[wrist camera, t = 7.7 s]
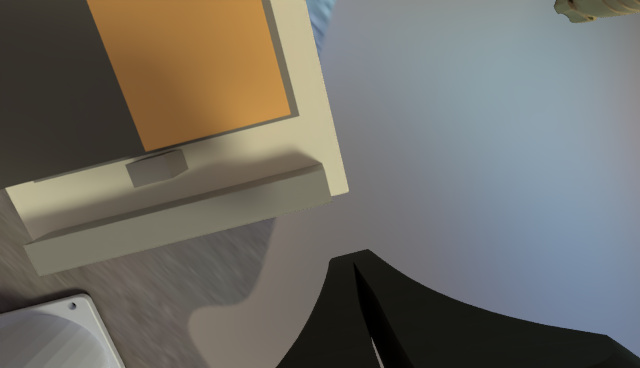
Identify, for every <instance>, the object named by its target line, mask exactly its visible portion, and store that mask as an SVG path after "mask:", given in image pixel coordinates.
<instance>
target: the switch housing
mask: <svg viewBox="0 0 640 368" xmlns="http://www.w3.org/2000/svg"><path fill="white" fill-rule="evenodd" d="M261 1H262V5H263V9H264V13H265V17H266V21H267V24H268V28H269V32H270V36H271V40H272V44H273V47H274V51H275V55H276V59H277V63H278V66H279V70H280V74H281V78H282V82H283V86H284V89H285V93H286V97H287V101H288V105H289V108H290V112H291V114H290V115H286V116H282V117H279V118H275V119H271V120H267V121H263V122H259V123H255V124H251V125H248V126H244V127H240V128H236V129H232V130H228V131H224V132H220V133H217V134H213V135H209V136H205V137H201V138H197V139H193V140H189V141H186V142H182V143H178V144H174V145H170V146H166V147H162V148H158V149H155V150H151V151H147V152H143V153H139V154H135V155H131V156H127V157H124V158H120V159H116V160H112V161H108V162H104V163H100V164H96V165H93V166H89V167H85V168H81V169H77V170H73V171H69V172H65V173H62V174H58V175H54V176H50V177H46V178H42V179H38V180H34V181H31V182H27V183H23V184H19V185H15V186H11V187H7V188H5V189H6V190H7V192H8V194H9V196H10V198H11V200H12V202H13V204H14V206H15V208H16V210H17V211H18V213H19V215H20V217H21V219H22V221H23V223H24V225H25V227H26V229H27V231H28V233H29V234H30V236H31V238H32V240H33V241H31V242H29V243H27V244H25V245H23V247H24V249H25V251H26V253H27V255H28V256H29V258H30V260H31V262H32V264H33V266H34V268H35V270H36V271H37V273H38V275H39V276H43V275H47V274H51V273H55V272H59V271H63V270H67V269H71V268H75V267H79V266H83V265H87V264H91V263H95V262H99V261H103V260H107V259H110V258H114V257H118V256H122V255H126V254H130V253H134V252H138V251H142V250H146V249H150V248H154V247H158V246H162V245H166V244H170V243H174V242H178V241H182V240H186V239H189V238H193V237H197V236H201V235H205V234H209V233H213V232H217V231H221V230H225V229H229V228H233V227H237V226H241V225H245V224H249V223H253V222H257V221H261V220H264V219H268V218H272V217H276V216H280V215H284V214H288V213H292V212H296V211H300V210H304V209H308V208H312V207H316V206H320V205H324V204H328V203H332V198H331V196H334V195H338V194H342V193H346V192H349V189H348V185H347V181H346V176H345V172H344V167H343V163H342V159H341V154H340V150H339V145H338V141H337V137H336V132H335V128H334V124H333V119H332V115H331V111H330V106H329V102H328V97H327V93H326V89H325V85H324V80H323V76H322V71H321V67H320V63H319V58H318V54H317V49H316V45H315V41H314V36H313V32H312V28H311V23H310V19H309V15H308V10H307V6H306V1H305V0H261Z"/></svg>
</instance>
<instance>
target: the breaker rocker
mask: <svg viewBox="0 0 640 368" xmlns="http://www.w3.org/2000/svg"><path fill="white" fill-rule="evenodd" d="M290 114H291V112H290V108H289V105H288V101H287V97H286V93H285V89H284V86H283V82H282V78H281V74H280V70H279V66H278V63H277V59H276V55H275V51H274V47H273V44H272V40H271V36H270V32H269V28H268V24H267V21H266V17H265V13H264V9H263V5H262V1H261V0H0V189H3V188H7V187H11V186H15V185H19V184H23V183H27V182H31V181H34V180H38V179H42V178H46V177H50V176H54V175H58V174H62V173H65V172H69V171H73V170H77V169H81V168H85V167H89V166H93V165H96V164H100V163H104V162H108V161H112V160H116V159H120V158H124V157H127V156H131V155H135V154H139V153H143V152H147V151H151V150H155V149H158V148H162V147H166V146H170V145H174V144H178V143H182V142H186V141H189V140H193V139H197V138H201V137H205V136H209V135H213V134H217V133H220V132H224V131H228V130H232V129H236V128H240V127H244V126H248V125H251V124H255V123H259V122H263V121H267V120H271V119H275V118H279V117H282V116H286V115H290Z"/></svg>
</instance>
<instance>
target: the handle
mask: <svg viewBox="0 0 640 368" xmlns="http://www.w3.org/2000/svg"><path fill="white" fill-rule="evenodd" d="M554 8H555V10H556V12H557V13H558V14H560V13H562V14H564V15H566V16H567V17H568V18H569V19H570V21H571V22H572V23H582V22H590V21H594V20H596V19H597V17H612V16H620V15H626V14H633V13H638V12H640V0H556V2H555V5H554Z"/></svg>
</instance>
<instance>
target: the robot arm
mask: <svg viewBox="0 0 640 368" xmlns="http://www.w3.org/2000/svg"><path fill="white" fill-rule="evenodd" d="M72 302H73V303H75V304H76V306H75V305H73V304H72ZM371 337H372V339H373V342H374V344H375V346H376V349H377V351H378V354H379V356H380V358H381V361H382V363H383V366H384V368H640V358H639V357H638V356H636V355H635V354H633V353H632V352H630V351H629V350H628V349H626V348H625V347H623V346H622V345H620V344H619V343H618V342H616V341H615V340H613V339H612V338H610V337H609V336H607V335H603V334H596V333H590V332H585V331H579V330H573V329H567V328H560V327H555V326H548V325H544V324H539V323H534V322H530V321H526V320H522V319H517V318H513V317H509V316H505V315H502V314H498V313H494V312H490V311H488V310H484V309H481V308H478V307H475V306H472V305H469V304H466V303H463V302H460V301H458V300H455V299H453V298H450V297H448V296H445V295H443V294H441V293H438V292H436V291H434V290H432V289H430V288H428V287H426V286H424V285H422V284H420V283H418V282H416V281H414V280H413V279H411V278H409V277H407V276H406V275H404V274H403V273H401V272H400V271H398V270H397V269H395V268H393V267H392V266H391V265H389V264H388V263H386V262H385V261H384V260H382V259H381V258H380V257H378V256H377V255H376V254H374V253H373V252H372V251H370V250H369V249H366V250H362V251H358V252H354V253H350V254H347V255H343V256H338V257H335V258H332V259H331V260H330V262H329V267H328V272H327V275H326V279H325V282H324V284H323V287H322V290H321V293H320V295H319V298H318V300H317V302H316V304H315V306H314V309H313V311H312V313H311V315H310V317H309V319H308V321H307V323H306V324H305V326H304V328H303V330H302V331H301V333H300V335H299V336H298V338H297V340H296V341H295V342H294V344H293V345H292V347H291V348H290V349H289V351H288V352H287V354H286V355H285V356H284V358H283V359H282V360H281V362H280V363H279V364H278V366H277V367H276V368H381V367H380V364H379V362H378V359H377V356H376V353H375V350H374V347H373V344H372V339H371ZM0 368H125V366H124V364H123V362H122V360H121V358H120V356H119V354H118V352H117V350H116V347H115V345H114V343H113V341H112V339H111V337H110V335H109V333H108V331H107V329H106V327H105V325H104V323H103V321H102V319H101V317H100V315H99V313H98V311H97V309H96V307H95V305H94V303H93V301H92V299H91V298H90V296H88V295H87V294H78V295H74V296H70V297H66V298H62V299H58V300H54V301H50V302H46V303H42V304H38V305H35V306H31V307H27V308H23V309H19V310H15V311H11V312H7V313H3V314H0Z"/></svg>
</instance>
